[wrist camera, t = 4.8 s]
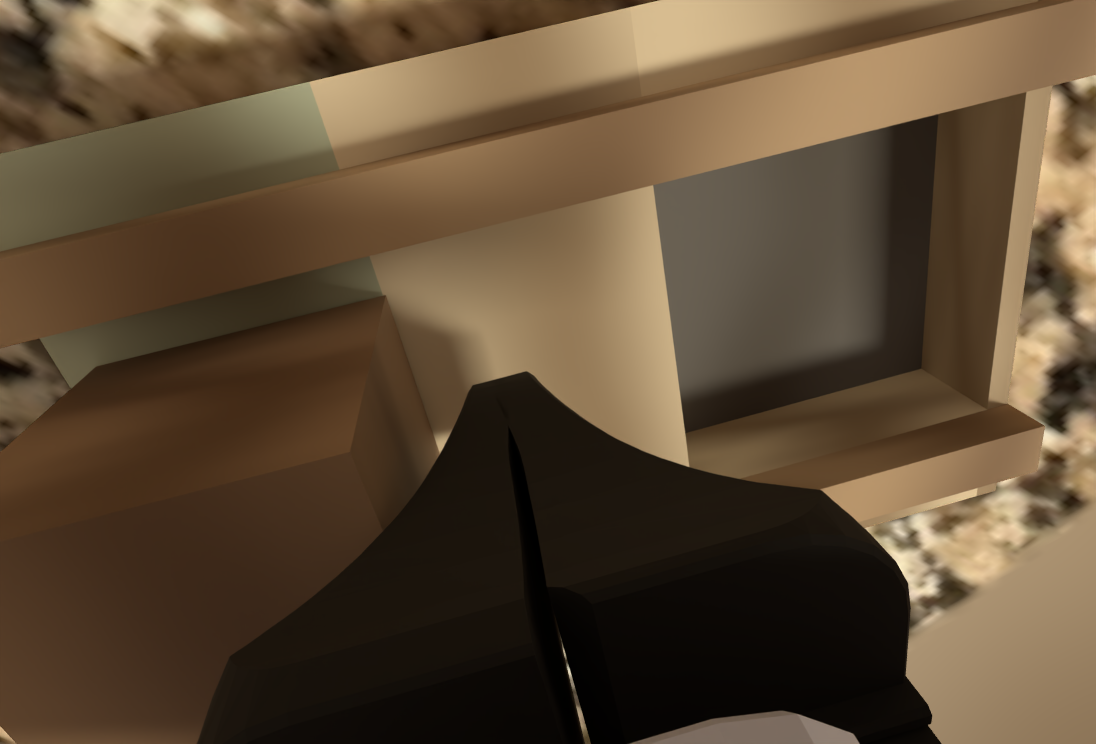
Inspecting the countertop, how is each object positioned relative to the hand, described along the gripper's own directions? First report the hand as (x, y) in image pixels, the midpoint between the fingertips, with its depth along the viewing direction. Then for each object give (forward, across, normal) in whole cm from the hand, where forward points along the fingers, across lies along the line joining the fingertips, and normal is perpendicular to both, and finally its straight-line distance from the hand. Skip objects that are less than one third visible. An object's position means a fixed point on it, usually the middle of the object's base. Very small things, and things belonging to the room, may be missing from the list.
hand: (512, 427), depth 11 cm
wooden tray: (+4, -2, 0) cm, 4 cm away
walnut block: (+1, +4, 0) cm, 4 cm away
